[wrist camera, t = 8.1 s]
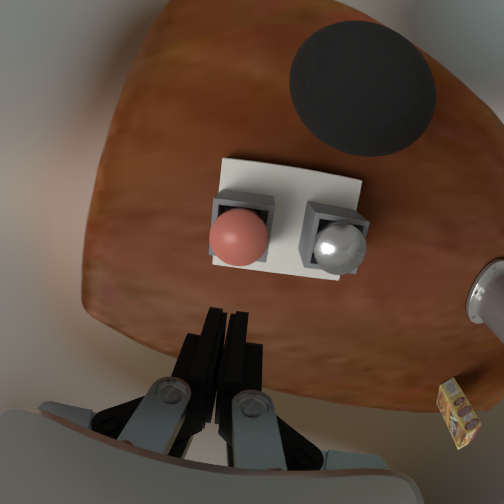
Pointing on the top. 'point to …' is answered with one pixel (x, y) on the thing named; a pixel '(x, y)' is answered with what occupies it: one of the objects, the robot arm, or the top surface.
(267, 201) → the button panel
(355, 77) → the decorative egg
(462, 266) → the top surface
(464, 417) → the candy box
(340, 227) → the steel plunger
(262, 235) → the red plunger
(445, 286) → the top surface
